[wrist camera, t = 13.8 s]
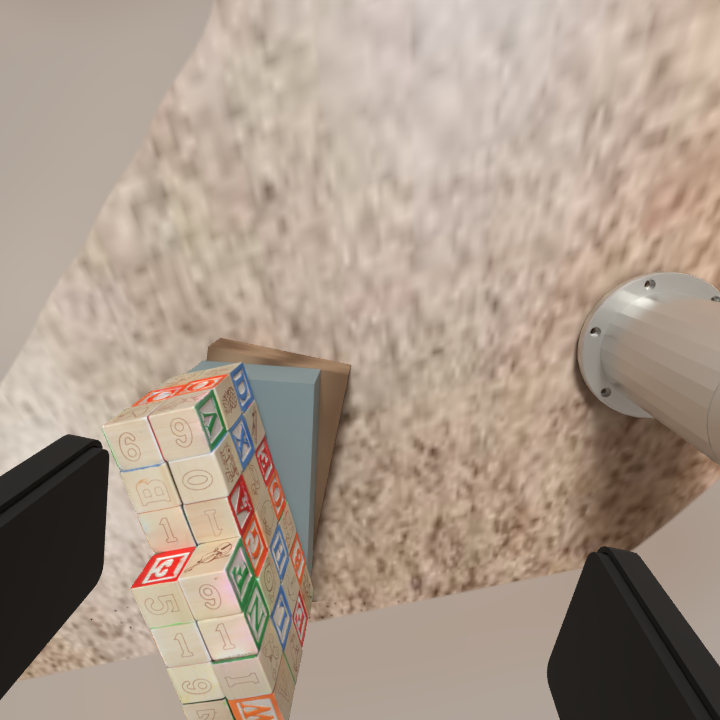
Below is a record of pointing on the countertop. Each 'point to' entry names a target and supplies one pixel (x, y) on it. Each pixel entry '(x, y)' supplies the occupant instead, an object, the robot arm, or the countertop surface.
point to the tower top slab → (289, 435)
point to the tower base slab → (329, 400)
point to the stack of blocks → (215, 545)
